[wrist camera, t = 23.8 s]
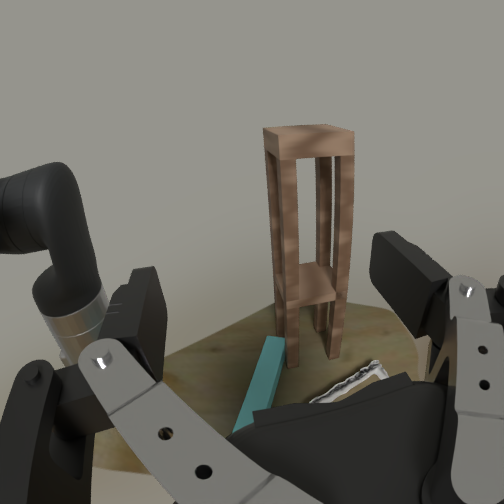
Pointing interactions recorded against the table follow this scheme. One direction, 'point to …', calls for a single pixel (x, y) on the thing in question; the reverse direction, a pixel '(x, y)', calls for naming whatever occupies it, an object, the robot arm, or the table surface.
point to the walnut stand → (286, 230)
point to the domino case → (263, 381)
